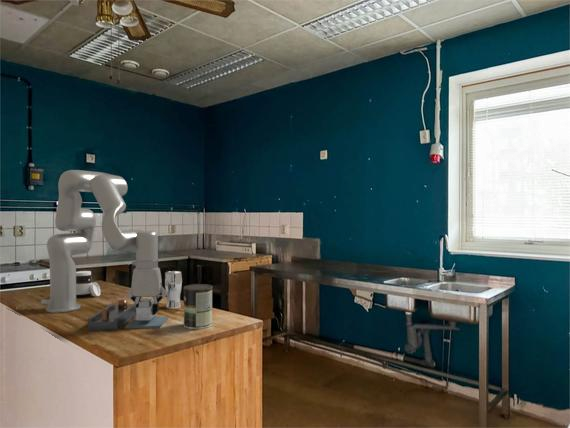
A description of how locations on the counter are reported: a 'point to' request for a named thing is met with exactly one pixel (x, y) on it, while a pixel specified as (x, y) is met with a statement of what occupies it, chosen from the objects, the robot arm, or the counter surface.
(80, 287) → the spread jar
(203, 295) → the coffee can
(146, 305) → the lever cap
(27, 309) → the counter surface
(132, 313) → the body
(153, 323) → the mat
